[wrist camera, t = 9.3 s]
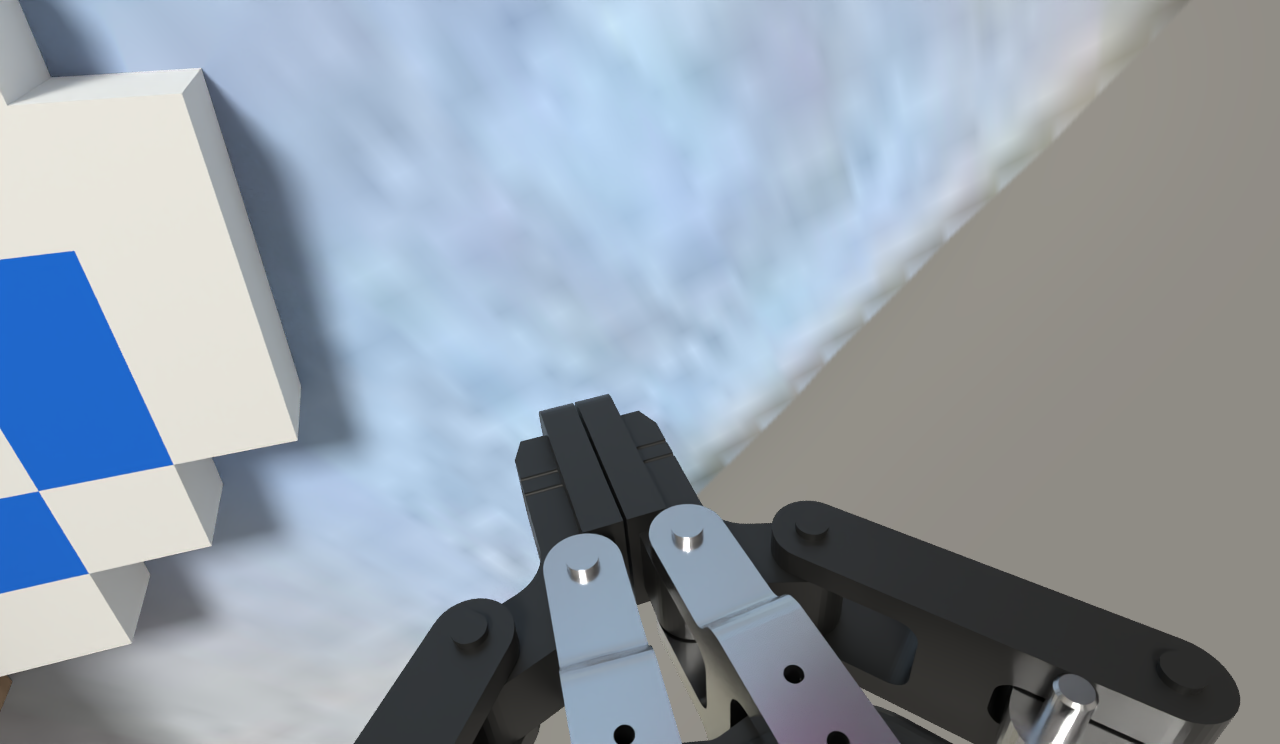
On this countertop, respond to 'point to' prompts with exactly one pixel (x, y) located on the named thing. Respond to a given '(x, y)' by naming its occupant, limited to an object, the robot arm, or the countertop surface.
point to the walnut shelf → (4, 688)
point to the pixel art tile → (118, 343)
